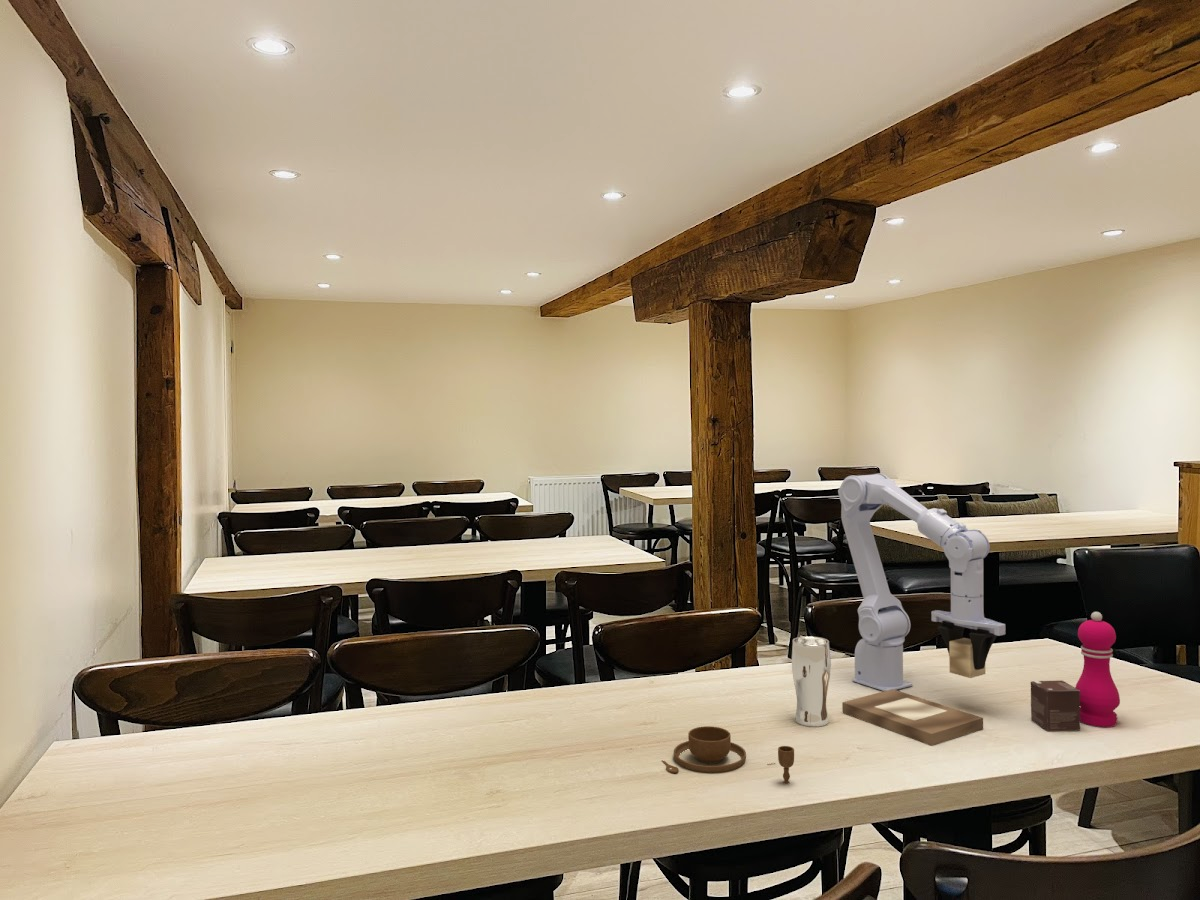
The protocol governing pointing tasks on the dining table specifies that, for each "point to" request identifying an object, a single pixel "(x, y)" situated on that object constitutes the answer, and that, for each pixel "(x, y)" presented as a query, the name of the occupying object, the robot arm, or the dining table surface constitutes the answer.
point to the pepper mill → (1097, 673)
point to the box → (1055, 705)
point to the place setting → (720, 752)
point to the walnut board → (913, 716)
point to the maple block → (963, 658)
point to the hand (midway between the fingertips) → (967, 665)
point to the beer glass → (811, 679)
